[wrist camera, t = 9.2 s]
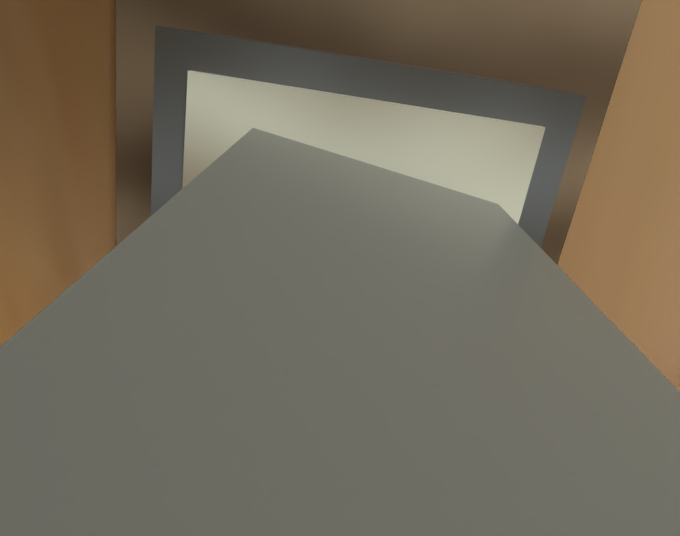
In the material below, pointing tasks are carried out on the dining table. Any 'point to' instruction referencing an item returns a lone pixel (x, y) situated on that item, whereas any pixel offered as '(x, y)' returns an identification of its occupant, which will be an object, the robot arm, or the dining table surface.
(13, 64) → the dining table surface
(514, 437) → the perfume bottle
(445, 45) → the stand
